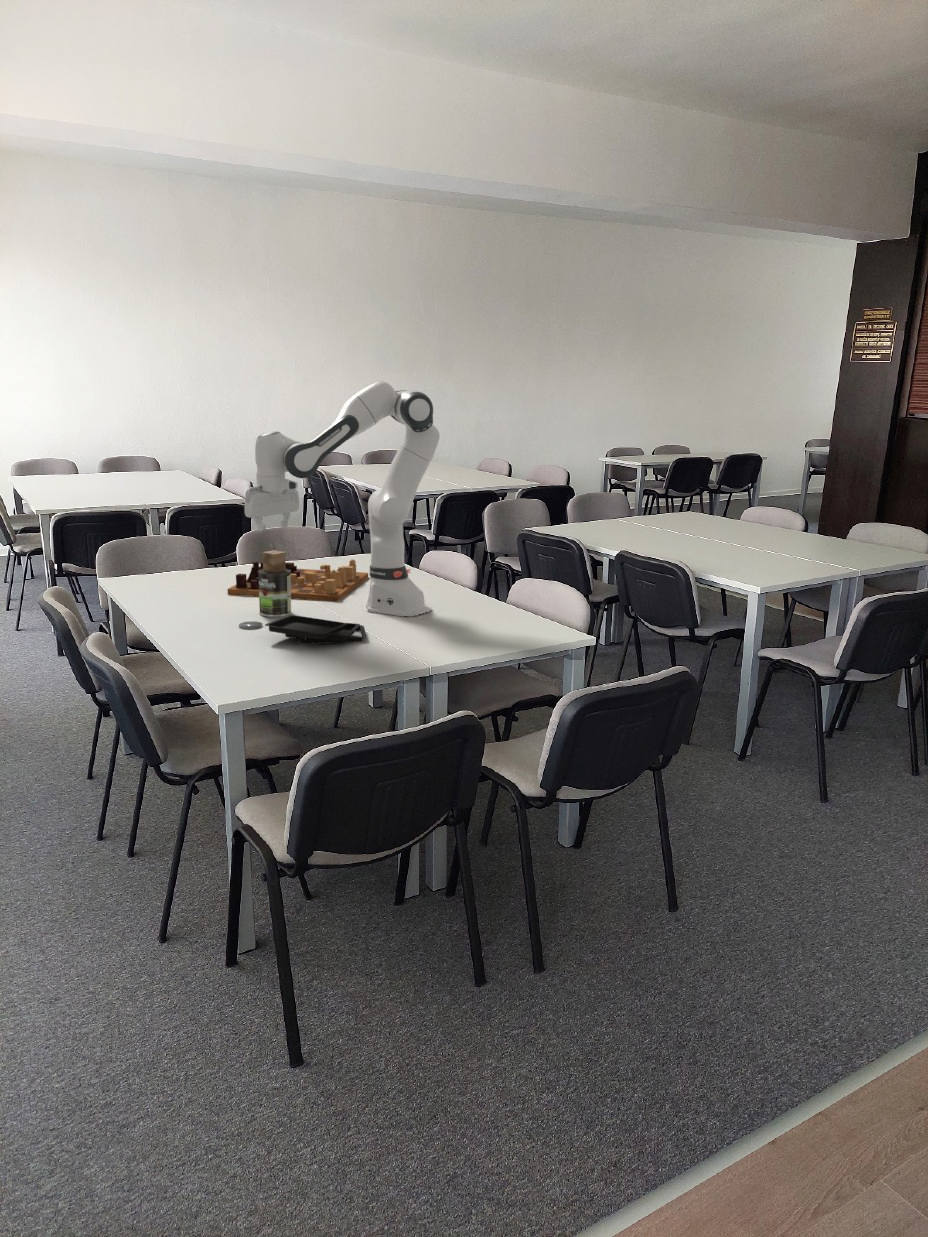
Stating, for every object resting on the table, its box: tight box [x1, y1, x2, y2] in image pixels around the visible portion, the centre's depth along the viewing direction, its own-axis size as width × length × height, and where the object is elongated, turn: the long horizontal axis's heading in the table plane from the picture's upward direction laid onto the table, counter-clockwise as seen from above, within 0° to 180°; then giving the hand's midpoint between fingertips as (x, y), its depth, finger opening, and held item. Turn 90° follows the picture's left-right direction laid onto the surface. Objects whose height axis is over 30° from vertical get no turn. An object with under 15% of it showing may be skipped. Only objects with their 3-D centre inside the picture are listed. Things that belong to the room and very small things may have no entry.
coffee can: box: [258, 569, 292, 618], centre depth 288 cm, size 10×10×14 cm
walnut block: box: [262, 549, 287, 573], centre depth 285 cm, size 5×5×6 cm
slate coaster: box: [238, 621, 263, 630], centre depth 273 cm, size 7×7×1 cm
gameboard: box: [227, 559, 369, 602], centre depth 328 cm, size 40×40×9 cm
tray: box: [264, 614, 368, 645], centre depth 261 cm, size 30×23×5 cm
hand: (273, 528), depth 282 cm, fingers open, 8 cm apart
